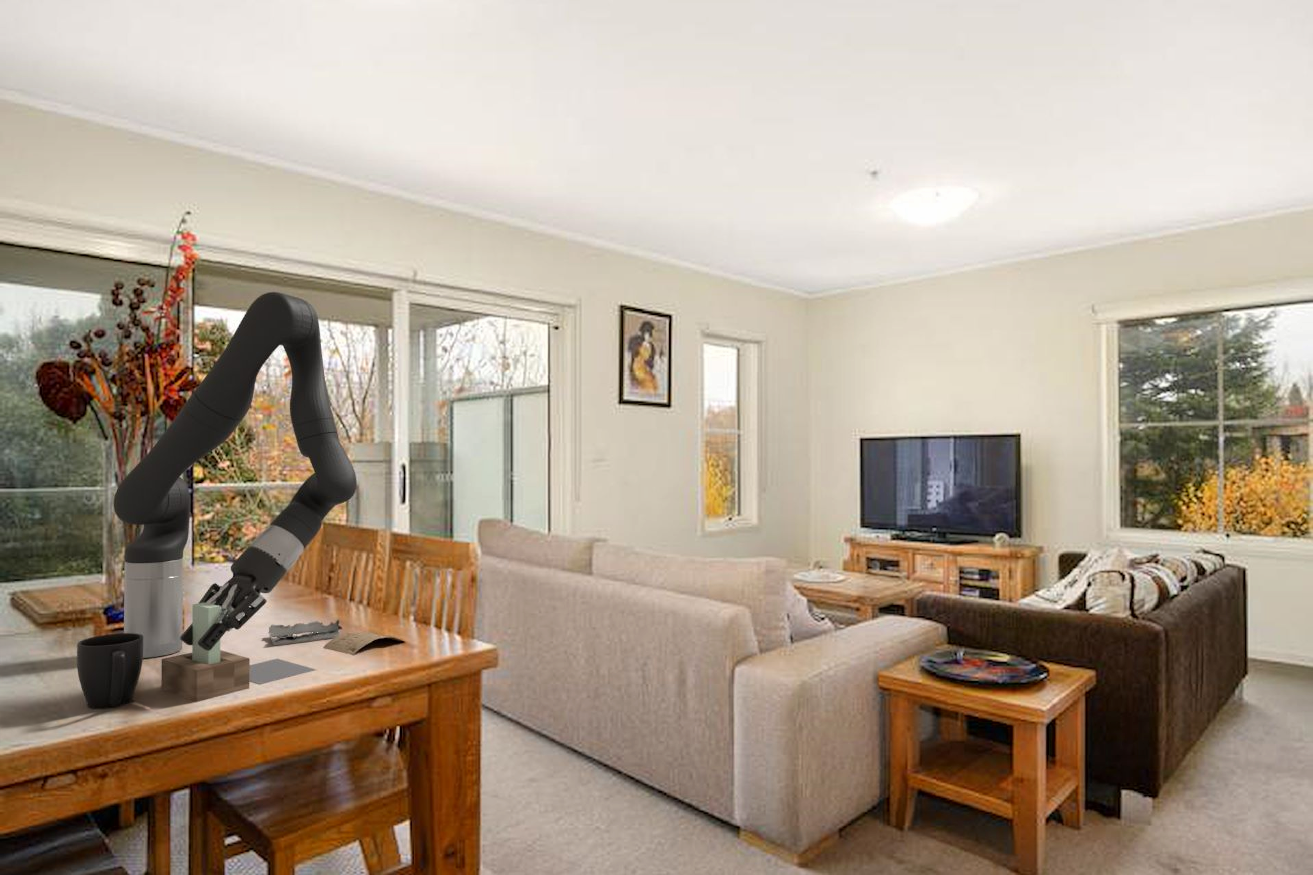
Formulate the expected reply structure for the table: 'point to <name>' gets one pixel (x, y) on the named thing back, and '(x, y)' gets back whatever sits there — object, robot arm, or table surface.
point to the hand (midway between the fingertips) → (194, 644)
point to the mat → (275, 671)
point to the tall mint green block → (202, 621)
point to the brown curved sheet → (353, 641)
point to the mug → (109, 668)
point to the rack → (205, 676)
